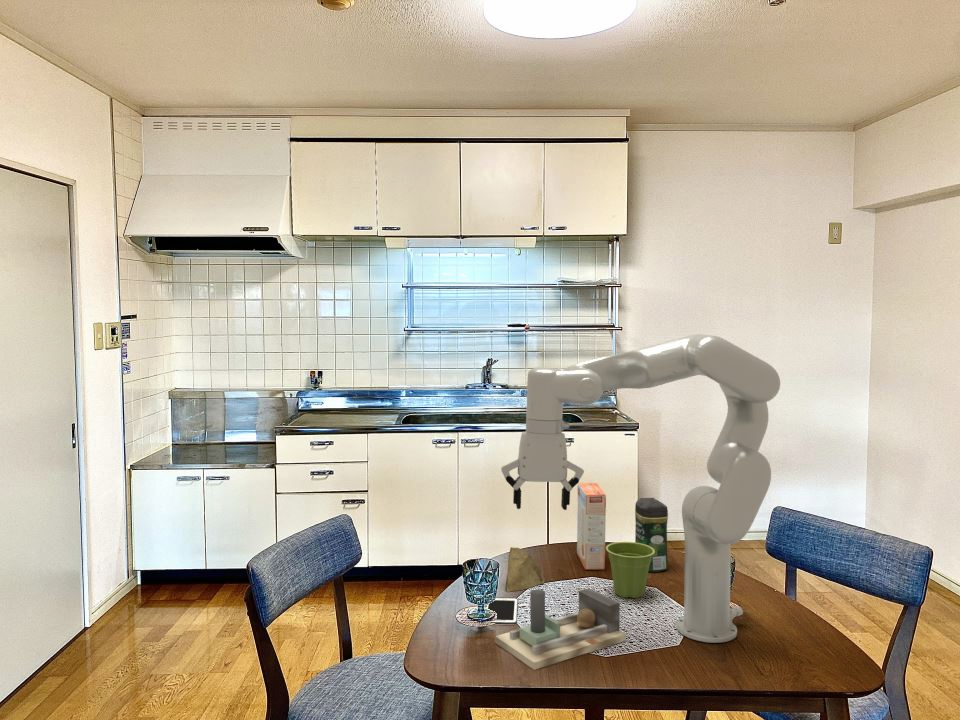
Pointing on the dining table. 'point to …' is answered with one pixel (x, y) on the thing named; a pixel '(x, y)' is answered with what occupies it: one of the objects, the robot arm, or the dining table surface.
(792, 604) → the dining table surface
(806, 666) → the dining table surface
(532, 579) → the rock
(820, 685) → the dining table surface
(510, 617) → the cell phone
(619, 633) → the press frame
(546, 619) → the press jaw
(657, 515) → the coffee jar
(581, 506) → the cracker box
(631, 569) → the plant pot
